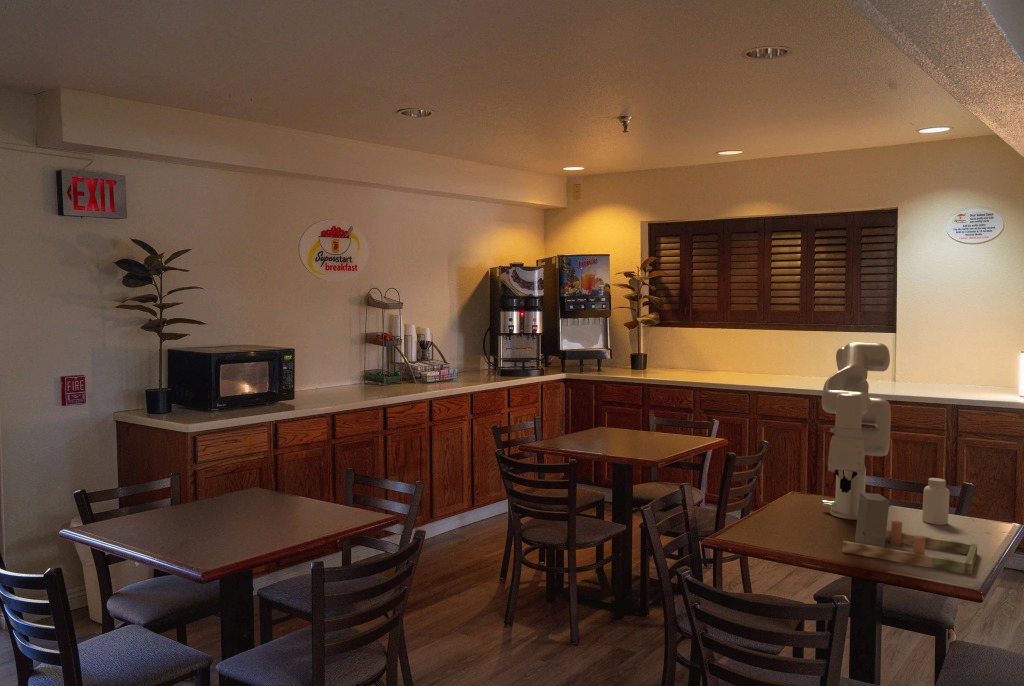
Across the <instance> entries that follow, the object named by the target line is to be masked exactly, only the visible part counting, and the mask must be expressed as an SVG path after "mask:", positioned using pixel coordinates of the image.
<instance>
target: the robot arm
mask: <svg viewBox="0 0 1024 686" xmlns="http://www.w3.org/2000/svg"><path fill="white" fill-rule="evenodd" d="M835 353H836V354H835V360H836V361H835V362H836V366H837V370H838V371H836V372H834V373H833V374H832V375H831V376H829V377H828V378H827V379H826V381H825V382H824V385H823V387H822V388H823V389H822V393H821V394H822V396H821V407H822V409H823V411H825V413H828V414H835V419H834V421H835V422H834V427H830V429H829V432H830V433H832V434H834V435H832V436H831V438H830V444H829V450H828V457H827V458H828V459H827V466H828V467H827V470H828V471H829V472H831V473H833V474H834V473H835V475H836V476H835V477H836V478H835V499H834V500H832V501H829V500H825V499H823V500H822V506H824V507H825V508H831V509H830V513H829V514H831V516H833V517H837V518H839V519H844V520H855V521H857V516H858V507H859V498H860V493H866V478H867V477H866V476H867V466H866V459H865V458H866V456H871V457H872V456H873V457H884V456H885V457H886V456H887V455H888V454H889V451H890V448H891V426H892V424H891V421H892V420H891V419H892V413H891V412H892V410H891V404H890V403H889V401H888V400H886V399H884V398H880V397H869V388H870V386H869V385H870V383H869V382H868V380H867V379H868V373H869V372H885V371H887V370H888V369H889V366H890V363H891V355H890V350H889V347H888V346H886V344H883V343H881V342H876V343H875V342H857V341H856V342H851V343H847V344H846V345H845V346H841V347H840V348H838V349H837V351H836V352H835ZM862 425H870V426H874V427H875V428H874V427H873V428H871V427H865V426H864V427H863V426H862Z"/></svg>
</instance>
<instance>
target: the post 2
mask: <svg viewBox="0 0 1024 686" xmlns="http://www.w3.org/2000/svg"><path fill="white" fill-rule="evenodd" d="M920 536H921V535H920ZM920 536H914V541H913V545H912V553H918V554H924V555H926V554H925V551H926V549H925V548H926V547H925V538H924V537H920Z"/></svg>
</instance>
